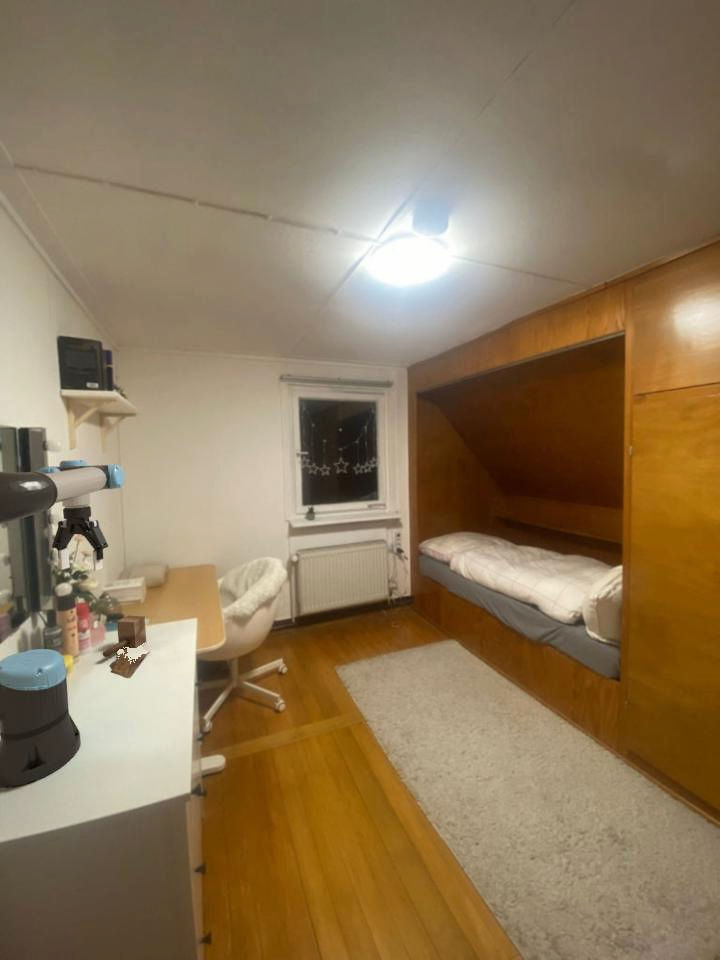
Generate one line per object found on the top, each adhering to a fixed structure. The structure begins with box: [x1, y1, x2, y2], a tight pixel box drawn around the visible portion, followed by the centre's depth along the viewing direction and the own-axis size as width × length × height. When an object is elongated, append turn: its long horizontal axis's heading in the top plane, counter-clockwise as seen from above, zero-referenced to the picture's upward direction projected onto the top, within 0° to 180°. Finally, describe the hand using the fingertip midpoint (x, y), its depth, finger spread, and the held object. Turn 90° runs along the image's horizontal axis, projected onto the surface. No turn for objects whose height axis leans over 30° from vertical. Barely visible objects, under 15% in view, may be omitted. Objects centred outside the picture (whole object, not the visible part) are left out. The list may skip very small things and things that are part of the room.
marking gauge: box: [102, 615, 147, 658], centre depth 134 cm, size 14×7×10 cm, turn 168°
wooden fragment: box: [109, 648, 149, 679], centre depth 129 cm, size 26×11×1 cm, turn 24°
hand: (81, 569), depth 130 cm, fingers open, 13 cm apart
